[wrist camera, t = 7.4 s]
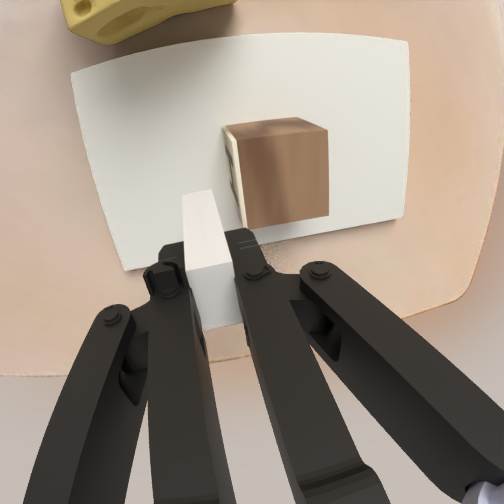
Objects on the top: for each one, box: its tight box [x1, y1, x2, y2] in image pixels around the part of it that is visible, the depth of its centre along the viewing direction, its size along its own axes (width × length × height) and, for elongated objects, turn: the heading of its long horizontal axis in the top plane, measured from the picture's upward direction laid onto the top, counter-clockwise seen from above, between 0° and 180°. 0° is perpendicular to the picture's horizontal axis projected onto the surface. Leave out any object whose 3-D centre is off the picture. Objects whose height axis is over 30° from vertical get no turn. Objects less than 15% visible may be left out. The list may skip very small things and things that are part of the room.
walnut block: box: [221, 117, 329, 230], centre depth 22 cm, size 6×6×6 cm
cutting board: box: [70, 33, 410, 271], centre depth 24 cm, size 28×18×1 cm, turn 96°
